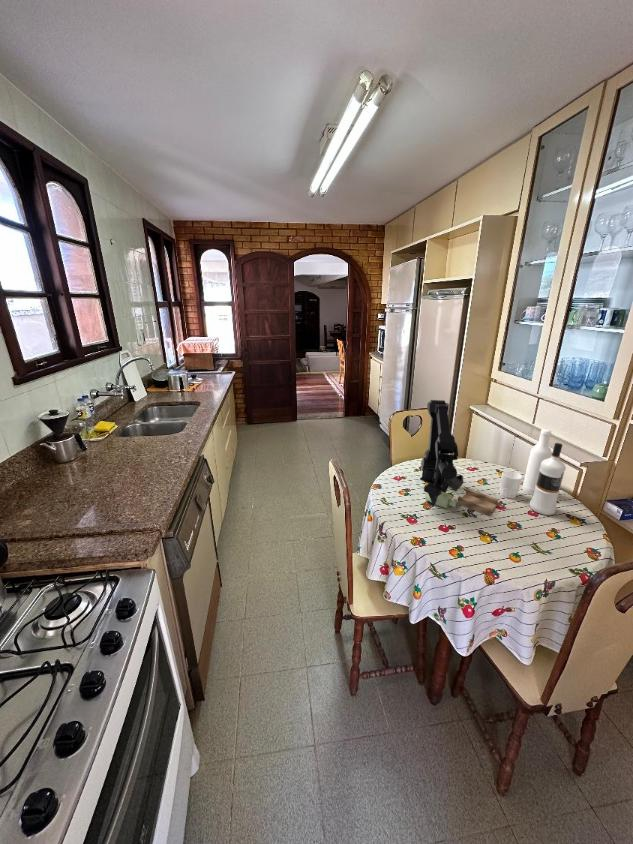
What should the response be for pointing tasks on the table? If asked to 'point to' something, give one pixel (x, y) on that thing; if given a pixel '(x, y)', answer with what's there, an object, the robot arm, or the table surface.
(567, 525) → the table surface
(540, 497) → the vodka
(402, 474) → the table surface
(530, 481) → the bottle
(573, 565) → the table surface
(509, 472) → the white cup
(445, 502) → the bottle
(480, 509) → the rest
